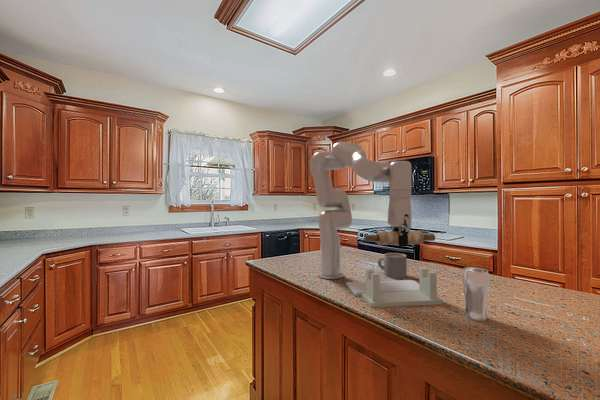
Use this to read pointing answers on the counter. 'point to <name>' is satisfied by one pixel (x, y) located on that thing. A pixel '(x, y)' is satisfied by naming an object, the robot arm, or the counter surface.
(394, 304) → the pin stand
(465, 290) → the beer glass
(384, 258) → the coffee mug
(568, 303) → the counter surface
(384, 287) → the pastry board
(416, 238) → the rolling pin
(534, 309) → the counter surface
